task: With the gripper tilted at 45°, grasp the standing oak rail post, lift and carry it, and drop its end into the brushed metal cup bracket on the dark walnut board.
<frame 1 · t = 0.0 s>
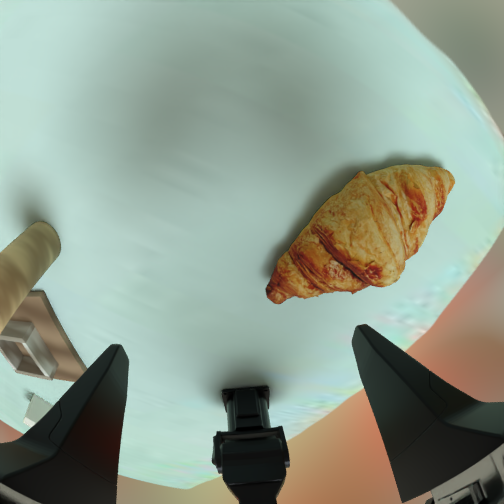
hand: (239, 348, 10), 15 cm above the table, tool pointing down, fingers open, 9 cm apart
croissant: (360, 222, 25), on the table
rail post: (44, 241, 22), on the table
cup bracket: (29, 337, 28), on the table
light grey cube: (44, 404, 38), on the table
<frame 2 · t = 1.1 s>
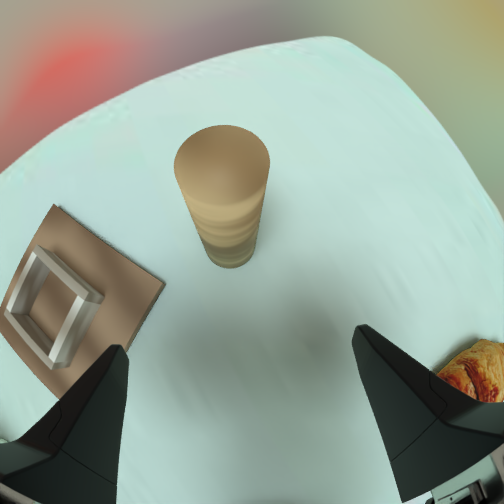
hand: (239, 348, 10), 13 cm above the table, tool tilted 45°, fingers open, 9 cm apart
croissant: (465, 384, 22), on the table
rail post: (230, 244, 25), on the table
cup bracket: (63, 309, 22), on the table
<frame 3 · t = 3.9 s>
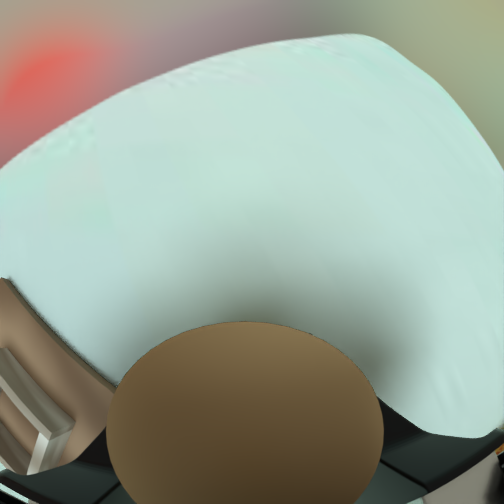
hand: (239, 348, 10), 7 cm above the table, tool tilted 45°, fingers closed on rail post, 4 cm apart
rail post: (241, 363, 16), on the table, touching gripper
cup bracket: (32, 416, 13), on the table
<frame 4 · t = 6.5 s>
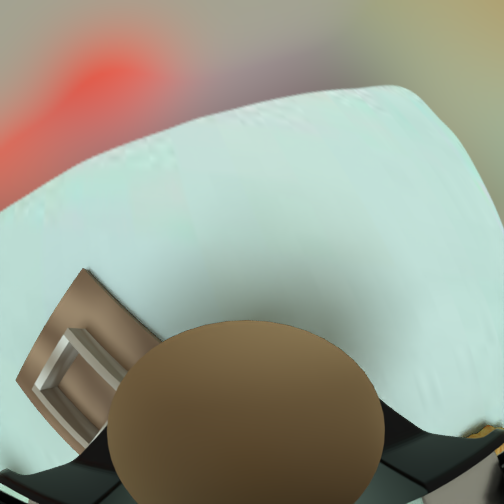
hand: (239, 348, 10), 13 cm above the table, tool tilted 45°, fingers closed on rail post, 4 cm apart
beer glass: (30, 493, 15), on the table
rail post: (242, 363, 16), point 7 cm above the table, touching gripper
cup bracket: (98, 387, 21), on the table
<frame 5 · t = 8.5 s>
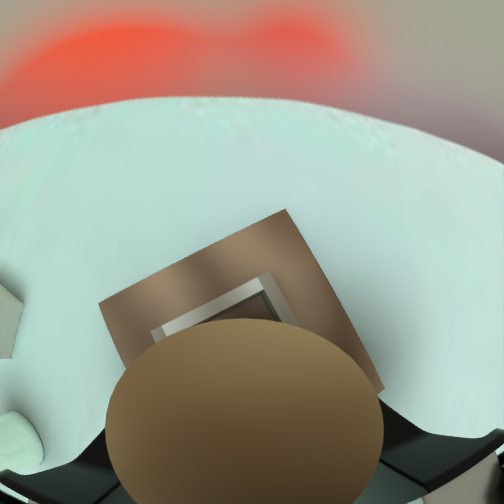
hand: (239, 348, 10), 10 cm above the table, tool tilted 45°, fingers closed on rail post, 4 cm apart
beer glass: (24, 437, 15), on the table
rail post: (241, 362, 16), point 3 cm above the table, touching gripper
cup bracket: (241, 356, 19), on the table
light grey cube: (2, 317, 19), on the table
when the fingers open (9 cm above the table, at t = 9.1 s): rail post drops 1 cm, resting on cup bracket.
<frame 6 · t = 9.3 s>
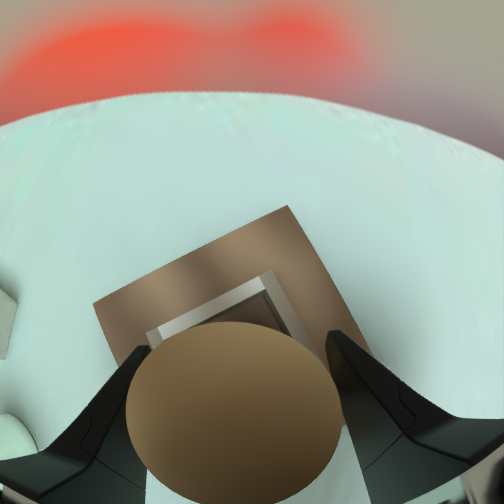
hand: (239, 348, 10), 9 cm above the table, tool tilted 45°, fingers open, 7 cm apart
beer glass: (19, 440, 14), on the table
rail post: (241, 361, 17), point 1 cm above the table, touching cup bracket
cup bracket: (241, 359, 18), on the table
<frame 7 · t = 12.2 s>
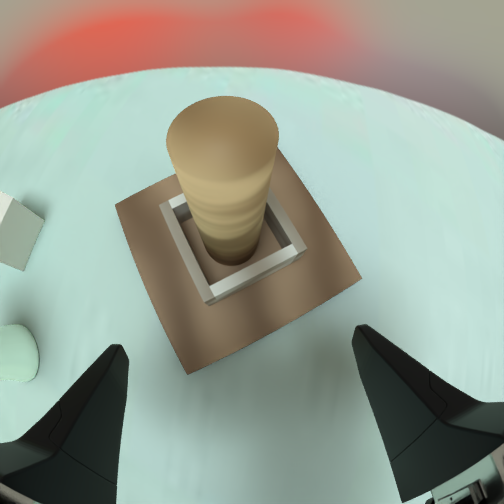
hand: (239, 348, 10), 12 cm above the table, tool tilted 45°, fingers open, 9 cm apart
beer glass: (21, 353, 20), on the table
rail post: (231, 239, 23), point 1 cm above the table, touching cup bracket
cup bracket: (231, 242, 24), on the table
light grey cube: (21, 238, 23), on the table
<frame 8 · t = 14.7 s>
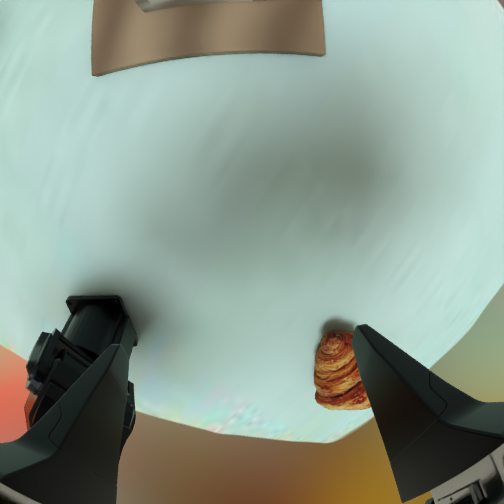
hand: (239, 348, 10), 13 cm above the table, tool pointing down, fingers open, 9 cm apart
croissant: (345, 365, 33), on the table
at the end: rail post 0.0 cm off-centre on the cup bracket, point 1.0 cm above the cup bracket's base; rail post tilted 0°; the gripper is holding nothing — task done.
